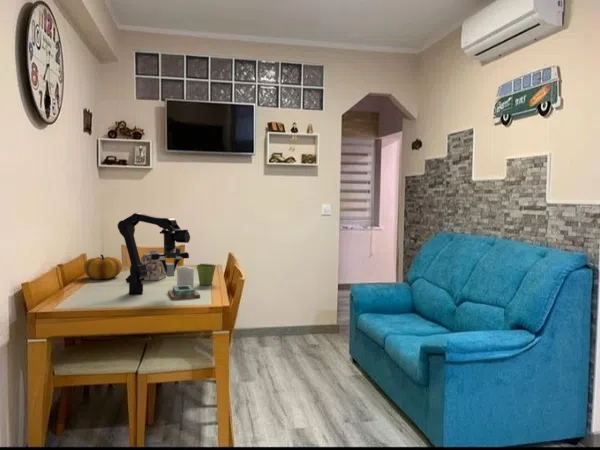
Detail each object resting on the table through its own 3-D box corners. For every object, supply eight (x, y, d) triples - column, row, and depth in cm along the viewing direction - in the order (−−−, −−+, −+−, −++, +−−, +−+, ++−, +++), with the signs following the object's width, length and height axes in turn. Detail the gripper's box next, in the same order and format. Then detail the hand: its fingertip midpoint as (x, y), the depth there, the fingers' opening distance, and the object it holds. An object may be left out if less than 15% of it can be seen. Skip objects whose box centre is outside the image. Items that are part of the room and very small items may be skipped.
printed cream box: (194, 288, 255) (194, 266, 254) (189, 289, 252) (189, 267, 251) (181, 286, 260) (181, 264, 260) (175, 287, 257) (175, 265, 256)
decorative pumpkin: (122, 280, 276) (121, 255, 275) (82, 281, 268) (81, 256, 267) (122, 274, 295) (121, 251, 294) (84, 276, 286) (84, 252, 285)
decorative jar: (166, 277, 287) (166, 249, 286) (159, 280, 275) (158, 251, 274) (148, 276, 288) (148, 248, 287) (140, 280, 276) (140, 250, 275)
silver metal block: (167, 276, 230) (167, 265, 229) (165, 274, 236) (165, 263, 236) (174, 276, 231) (174, 264, 231) (172, 274, 237) (172, 262, 237)
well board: (171, 299, 226) (171, 291, 226) (167, 293, 241) (167, 285, 240) (200, 297, 231) (200, 290, 231) (194, 291, 246) (194, 284, 246)
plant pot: (211, 286, 260) (211, 267, 259) (192, 285, 262) (192, 266, 261) (219, 283, 271) (219, 264, 270) (200, 282, 274) (200, 263, 273)
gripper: (151, 244, 222) (152, 276, 222) (190, 243, 229) (190, 273, 230) (150, 242, 232) (150, 272, 233) (187, 241, 239) (187, 270, 240)
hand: (170, 272), depth 233 cm, fingers closed on silver metal block, 3 cm apart
